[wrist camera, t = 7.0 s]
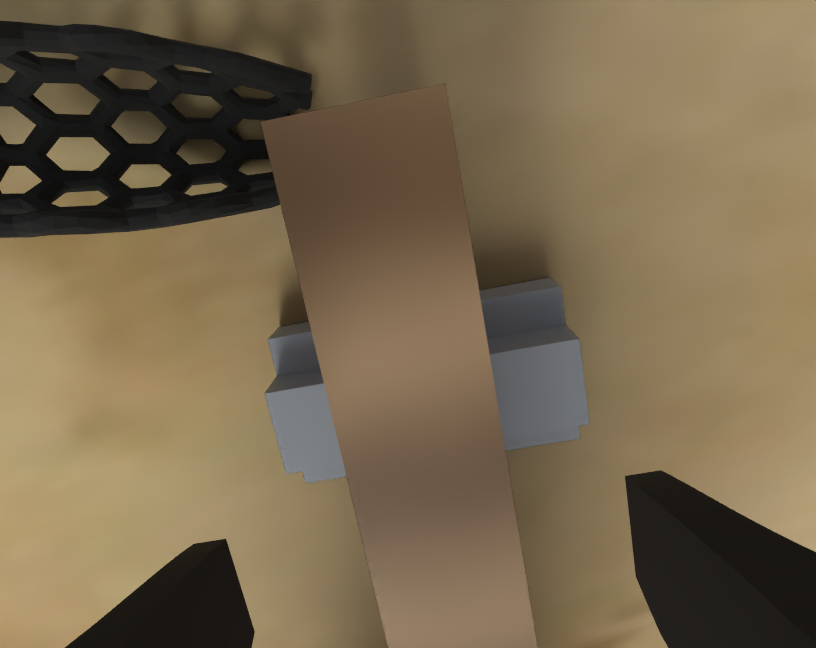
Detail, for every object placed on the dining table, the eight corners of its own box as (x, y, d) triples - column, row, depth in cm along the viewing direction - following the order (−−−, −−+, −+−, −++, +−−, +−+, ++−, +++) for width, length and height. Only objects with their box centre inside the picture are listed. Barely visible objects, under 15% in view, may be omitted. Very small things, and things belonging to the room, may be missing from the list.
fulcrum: (568, 419, 20) (594, 461, 17) (313, 461, 20) (295, 509, 17) (549, 277, 18) (574, 297, 15) (279, 327, 19) (253, 354, 16)
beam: (526, 631, 18) (555, 754, 14) (418, 646, 18) (418, 771, 15) (438, 107, 14) (445, 83, 10) (303, 135, 15) (260, 122, 11)
